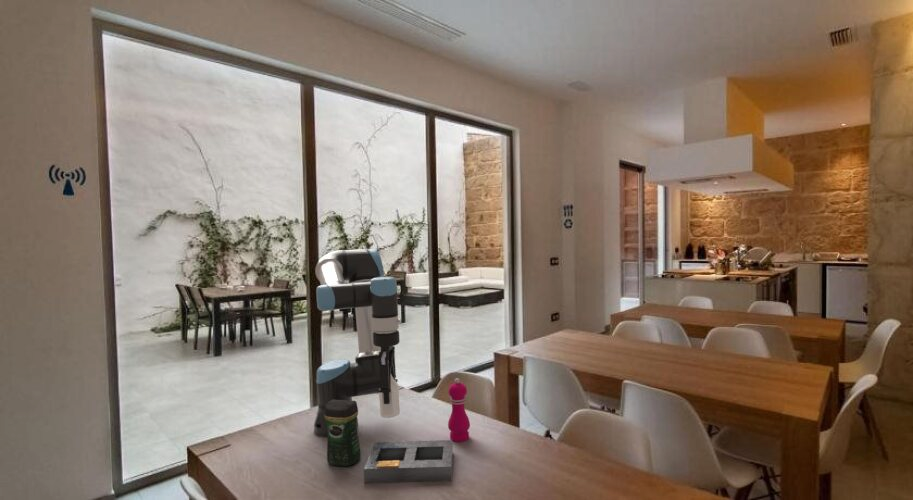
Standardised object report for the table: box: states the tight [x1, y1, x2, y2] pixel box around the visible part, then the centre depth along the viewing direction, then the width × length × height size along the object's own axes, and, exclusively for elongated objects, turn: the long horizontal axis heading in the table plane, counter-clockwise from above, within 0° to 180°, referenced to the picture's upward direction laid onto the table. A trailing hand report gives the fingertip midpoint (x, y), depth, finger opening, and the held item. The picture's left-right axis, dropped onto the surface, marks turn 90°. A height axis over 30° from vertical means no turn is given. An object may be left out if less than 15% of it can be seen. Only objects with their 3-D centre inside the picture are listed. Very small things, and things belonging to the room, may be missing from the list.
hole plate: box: [363, 439, 454, 484], centre depth 136 cm, size 16×24×4 cm, turn 89°
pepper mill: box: [447, 377, 471, 443], centre depth 153 cm, size 7×7×20 cm
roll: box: [378, 375, 401, 419], centre depth 135 cm, size 6×12×6 cm
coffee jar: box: [325, 399, 362, 467], centre depth 141 cm, size 10×8×19 cm
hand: (389, 409), depth 135 cm, fingers closed on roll, 6 cm apart
